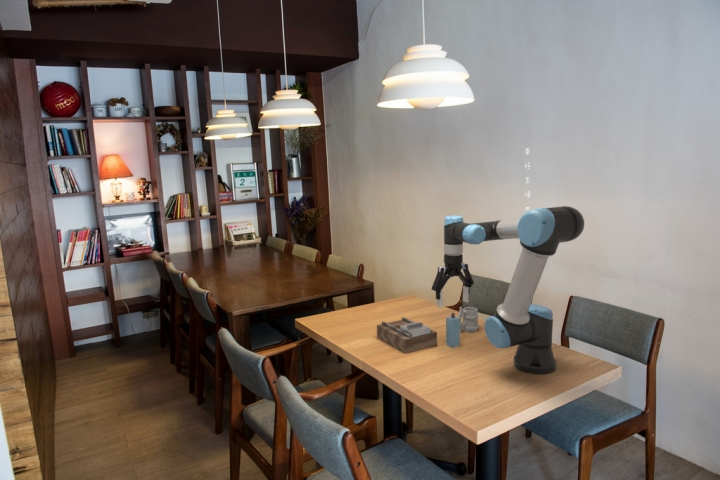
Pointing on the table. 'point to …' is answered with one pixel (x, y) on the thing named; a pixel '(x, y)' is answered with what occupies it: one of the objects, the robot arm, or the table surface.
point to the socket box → (404, 337)
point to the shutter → (415, 329)
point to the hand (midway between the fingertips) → (452, 304)
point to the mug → (469, 319)
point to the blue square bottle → (452, 331)
